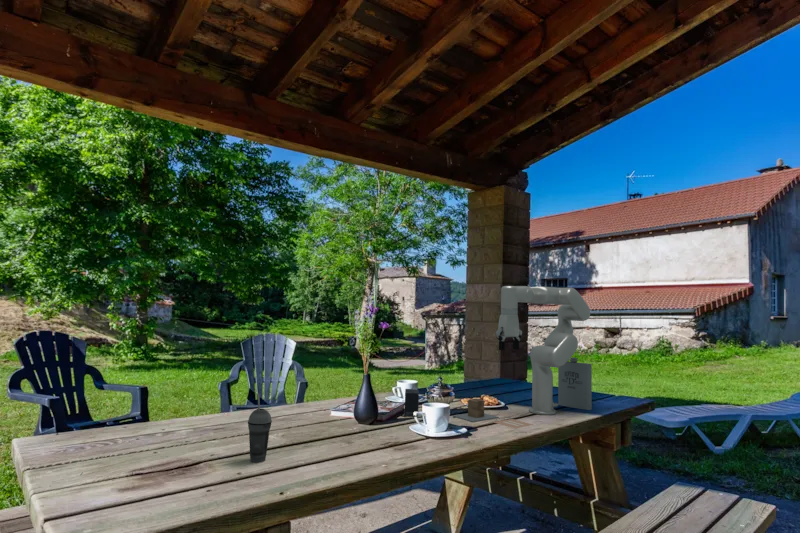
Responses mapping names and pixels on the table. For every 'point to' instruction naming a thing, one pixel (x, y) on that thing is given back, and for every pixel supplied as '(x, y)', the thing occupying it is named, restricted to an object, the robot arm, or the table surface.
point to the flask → (575, 385)
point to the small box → (411, 401)
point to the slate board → (472, 419)
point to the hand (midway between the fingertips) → (509, 349)
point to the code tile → (513, 423)
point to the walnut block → (476, 408)
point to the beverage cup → (259, 433)
